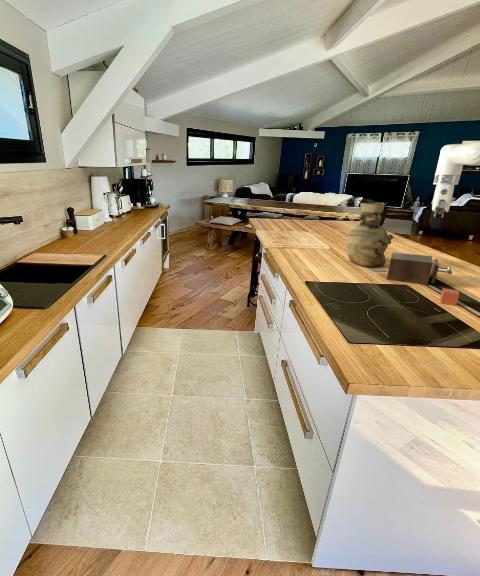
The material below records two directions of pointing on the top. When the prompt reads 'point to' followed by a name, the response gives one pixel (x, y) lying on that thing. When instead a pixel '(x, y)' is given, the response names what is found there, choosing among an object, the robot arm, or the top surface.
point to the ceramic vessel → (368, 238)
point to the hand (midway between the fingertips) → (434, 226)
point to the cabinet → (410, 268)
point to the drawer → (435, 270)
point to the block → (449, 296)
